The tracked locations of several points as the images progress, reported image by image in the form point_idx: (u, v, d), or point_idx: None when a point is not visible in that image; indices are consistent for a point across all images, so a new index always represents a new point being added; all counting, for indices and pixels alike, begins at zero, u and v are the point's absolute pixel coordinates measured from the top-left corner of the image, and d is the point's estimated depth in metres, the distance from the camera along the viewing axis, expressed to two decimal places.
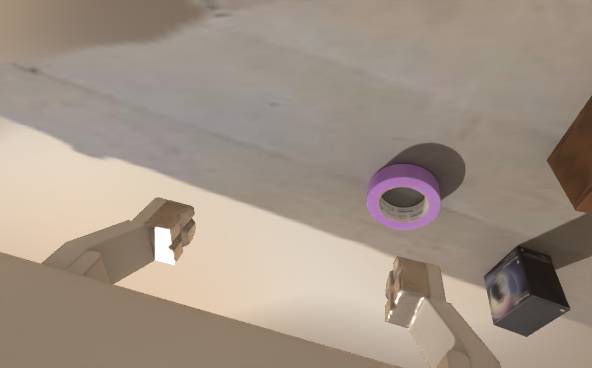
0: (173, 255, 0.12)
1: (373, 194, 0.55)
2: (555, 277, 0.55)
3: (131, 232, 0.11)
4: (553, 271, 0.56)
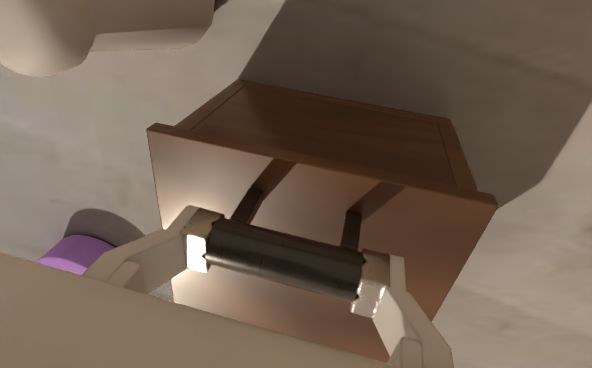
0: (206, 264, 0.12)
1: None
2: None
3: (168, 241, 0.11)
4: None
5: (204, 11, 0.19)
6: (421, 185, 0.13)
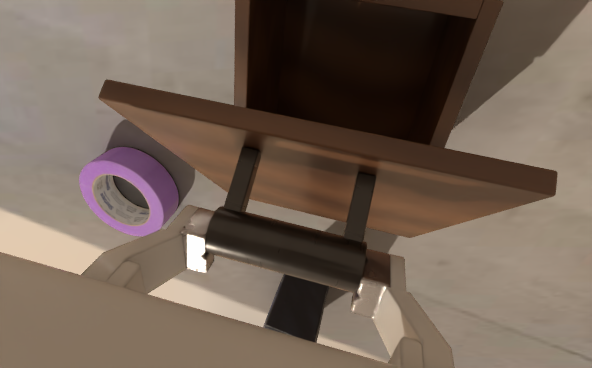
0: (206, 264, 0.12)
1: (84, 185, 0.42)
2: (319, 301, 0.41)
3: (167, 241, 0.11)
4: (322, 293, 0.42)
5: None
6: (453, 166, 0.10)
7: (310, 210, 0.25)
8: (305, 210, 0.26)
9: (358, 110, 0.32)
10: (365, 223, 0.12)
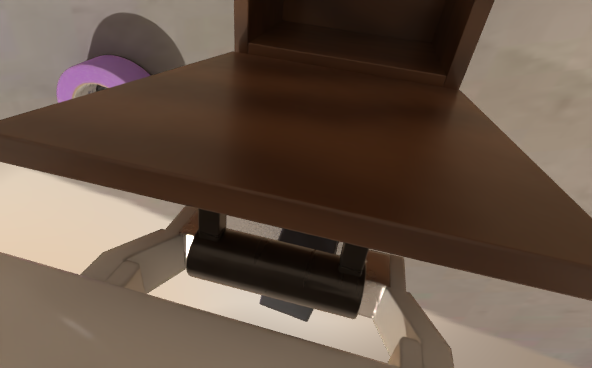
0: None
1: None
2: None
3: (166, 241, 0.11)
4: None
5: None
6: (483, 265, 0.07)
7: None
8: None
9: None
10: (364, 259, 0.10)
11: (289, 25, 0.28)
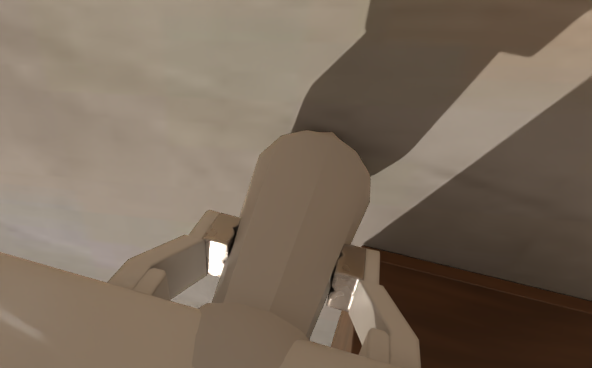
0: None
1: None
2: None
3: (190, 247, 0.11)
4: None
5: None
6: None
7: None
8: None
9: None
10: None
11: None
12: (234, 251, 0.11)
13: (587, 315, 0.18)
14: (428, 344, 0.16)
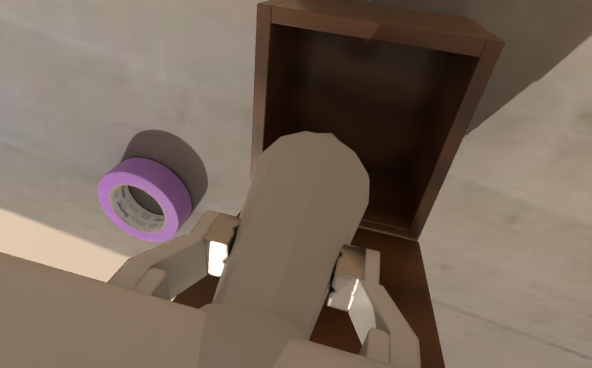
0: None
1: (101, 195, 0.44)
2: None
3: (191, 248, 0.11)
4: None
5: None
6: None
7: None
8: None
9: (366, 126, 0.33)
10: None
11: None
12: (234, 252, 0.11)
13: (440, 15, 0.27)
14: (322, 4, 0.24)
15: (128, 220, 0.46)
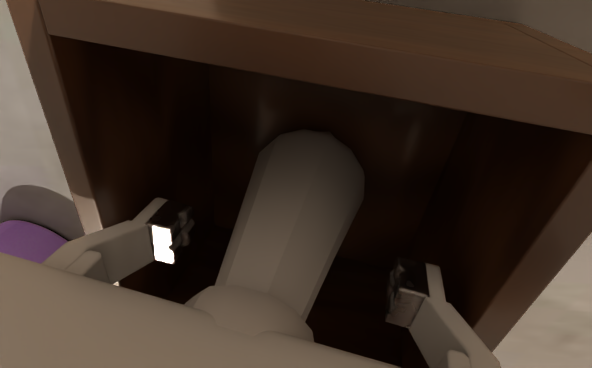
0: (173, 255, 0.12)
1: None
2: None
3: (132, 232, 0.11)
4: None
5: None
6: None
7: None
8: None
9: None
10: None
11: (218, 245, 0.22)
12: (235, 241, 0.12)
13: (463, 18, 0.14)
14: None
15: None
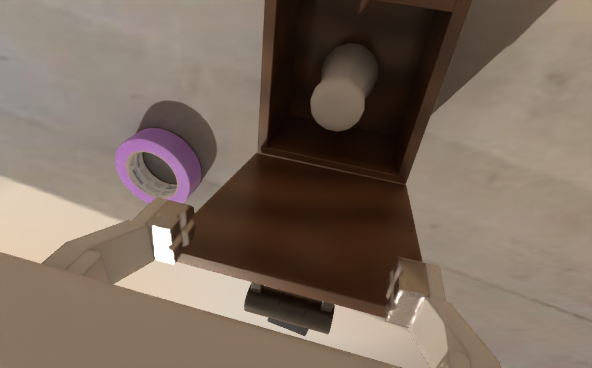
0: (173, 255, 0.12)
1: (119, 162, 0.48)
2: None
3: (131, 232, 0.11)
4: None
5: (374, 84, 0.33)
6: (374, 311, 0.17)
7: None
8: None
9: None
10: (332, 304, 0.20)
11: (294, 121, 0.39)
12: (327, 77, 0.29)
13: None
14: None
15: (143, 187, 0.50)
